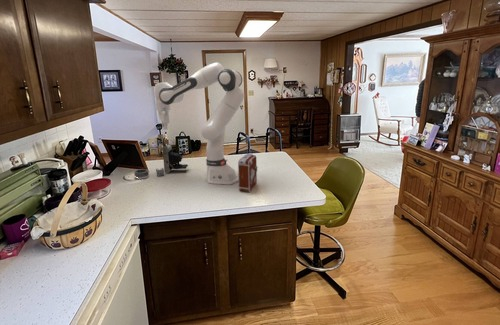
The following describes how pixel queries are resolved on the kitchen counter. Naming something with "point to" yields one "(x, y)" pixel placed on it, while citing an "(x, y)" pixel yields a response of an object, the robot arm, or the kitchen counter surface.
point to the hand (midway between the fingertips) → (164, 128)
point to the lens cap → (160, 172)
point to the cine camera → (247, 172)
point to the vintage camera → (172, 159)
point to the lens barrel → (142, 173)
